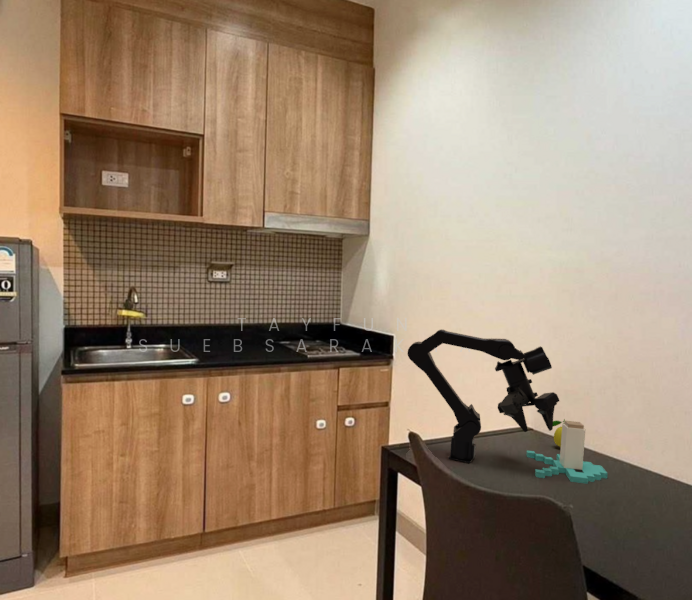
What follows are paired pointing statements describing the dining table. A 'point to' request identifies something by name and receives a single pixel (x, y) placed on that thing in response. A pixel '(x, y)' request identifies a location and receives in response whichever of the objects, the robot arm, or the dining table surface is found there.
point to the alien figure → (568, 469)
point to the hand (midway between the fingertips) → (538, 430)
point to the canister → (572, 445)
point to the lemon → (558, 433)
